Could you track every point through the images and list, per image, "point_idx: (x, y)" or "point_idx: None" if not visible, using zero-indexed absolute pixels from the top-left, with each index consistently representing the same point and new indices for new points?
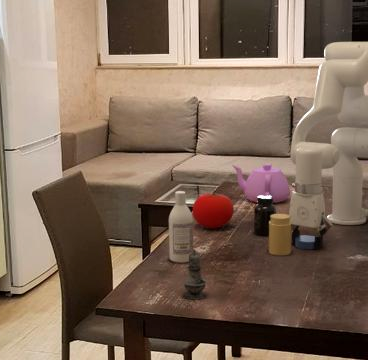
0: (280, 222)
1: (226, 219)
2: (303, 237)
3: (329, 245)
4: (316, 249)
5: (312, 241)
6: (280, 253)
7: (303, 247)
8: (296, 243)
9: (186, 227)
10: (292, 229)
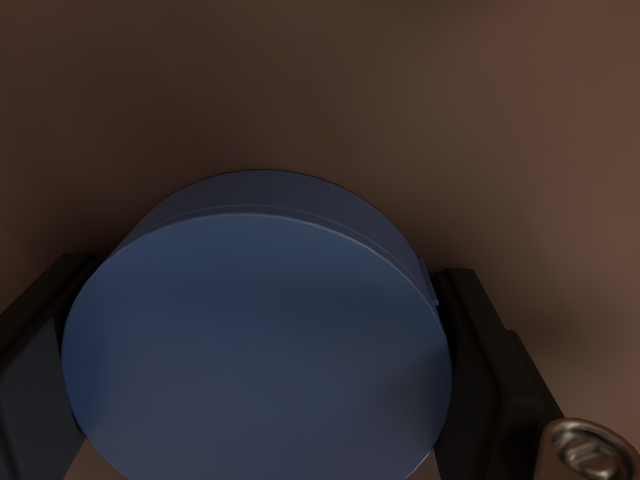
0: None
1: None
2: (338, 417)
3: (76, 464)
4: (74, 256)
5: (89, 314)
6: None
7: (223, 179)
8: (371, 223)
9: None
10: (581, 469)
